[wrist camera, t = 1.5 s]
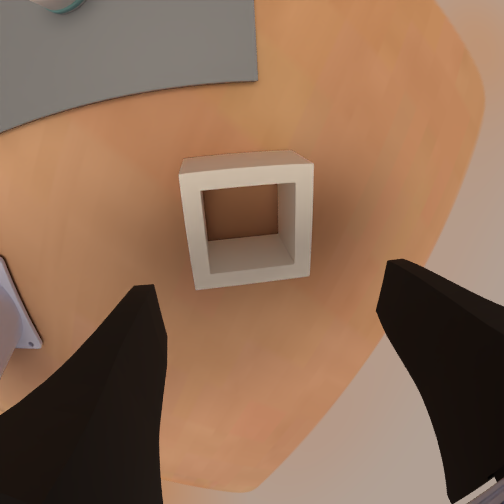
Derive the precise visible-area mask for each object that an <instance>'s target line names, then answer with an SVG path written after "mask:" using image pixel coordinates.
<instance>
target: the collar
mask: <svg viewBox="0 0 504 504" xmlns="http://www.w3.org/2000/svg"><path fill="white" fill-rule="evenodd" d="M313 179H314V163H312V162H311V161H309V160H307V159H306V158H304V157H302V156H301V155H299V154H298V153H296V152H294V151H293V150H277V151H259V152H245V153H232V154H221V155H211V156H201V157H192V158H184V159H183V162H182V165H181V168H180V171H179V182H180V190H181V198H182V206H183V213H184V220H185V227H186V234H187V241H188V247H189V254H190V260H191V266H192V272H193V278H194V284H195V289H196V290H202V289H211V288H220V287H228V286H237V285H245V284H253V283H261V282H269V281H277V280H284V279H292V278H299V277H307V276H310V261H311V241H312V217H313ZM267 184H277V190H278V234H270V235H260V236H251V237H242V238H233V239H223V240H214V241H208V236H207V227H206V219H205V210H204V201H203V190H213V189H222V188H233V187H243V186H255V185H267Z"/></svg>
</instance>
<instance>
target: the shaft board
mask: <svg viewBox="0 0 504 504" xmlns="http://www.w3.org/2000/svg"><path fill="white" fill-rule="evenodd" d="M255 81H258V71H257V51H256V32H255V14H254V0H0V133H3V132H5V131H8V130H10V129H13V128H15V127H18V126H21V125H24V124H26V123H29V122H32V121H35V120H38V119H41V118H44V117H47V116H50V115H53V114H57V113H60V112H63V111H67V110H70V109H74V108H78V107H81V106H85V105H89V104H93V103H97V102H101V101H106V100H110V99H115V98H120V97H125V96H130V95H135V94H140V93H146V92H152V91H159V90H165V89H172V88H180V87H188V86H198V85H208V84H220V83H236V82H255Z"/></svg>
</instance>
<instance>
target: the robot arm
mask: <svg viewBox="0 0 504 504" xmlns="http://www.w3.org/2000/svg"><path fill="white" fill-rule="evenodd" d="M376 312H377V314H378V317H379V319H380V322H381V324H382V326H383V329H384V331H385V333H386V335H387V337H388V338H389V340H390V342H391V344H392V345H393V347H394V349H395V350H396V352H397V354H398V355H399V357H400V359H401V360H402V362H403V364H404V365H405V367H406V368H407V370H408V372H409V374H410V376H411V377H412V379H413V381H414V382H415V384H416V386H417V388H418V390H419V392H420V394H421V396H422V399H423V401H424V404H425V406H426V408H427V411H428V414H429V416H430V419H431V422H432V425H433V428H434V431H435V434H436V437H437V441H438V445H439V449H440V453H441V457H442V461H443V466H444V472H445V479H446V487H447V495H448V498H449V500H450V502H451V504H454V503H455V502H457V501H459V500H460V499H462V498H464V497H465V496H467V495H468V494H470V493H471V492H473V491H475V490H476V489H478V488H479V487H480V486H482V485H483V484H485V483H486V482H488V481H489V480H491V479H492V478H493V477H495V479H496V481H497V483H496V484H494V485H493V486H492V487H490V488H489V489H487V490H486V491H485V492H483V493H482V494H480V495H479V496H477V497H476V498H474V499H473V500H472V501H470V502H468V503H467V504H504V306H501V305H499V304H496V303H494V302H492V301H489V300H487V299H485V298H483V297H481V296H479V295H477V294H475V293H473V292H471V291H469V290H467V289H465V288H463V287H461V286H459V285H457V284H455V283H453V282H451V281H449V280H447V279H445V278H443V277H441V276H440V275H438V274H436V273H434V272H432V271H430V270H428V269H426V268H424V267H422V266H419V265H417V264H415V263H413V262H410V261H408V260H405V259H396V260H388V261H387V265H386V270H385V274H384V279H383V283H382V288H381V292H380V296H379V300H378V304H377V308H376ZM42 345H43V343H42V340H41V339H40V337H39V335H38V333H37V331H36V329H35V327H34V326H33V324H32V322H31V320H30V318H29V316H28V314H27V312H26V310H25V308H24V306H23V303H22V301H21V299H20V297H19V295H18V293H17V290H16V288H15V286H14V284H13V281H12V279H11V276H10V274H9V272H8V269H7V267H6V264H5V261H4V260H3V258H2V257H0V379H1V376H2V374H3V372H4V370H5V368H6V366H7V363H8V361H9V359H10V357H11V355H12V353H13V351H14V349H15V348H32V349H39V348H41V347H42ZM166 369H167V333H166V330H165V326H164V322H163V319H162V315H161V311H160V307H159V303H158V299H157V295H156V291H155V287H154V284H151V285H138V286H134V287H133V288H132V289H131V290H130V291H129V292H128V293H127V294H126V295H125V297H124V298H123V299H122V300H121V301H120V303H119V304H118V305H117V306H116V307H115V308H114V310H113V311H112V312H111V313H110V314H109V315H108V317H107V318H106V319H105V320H104V321H103V323H102V324H101V325H100V326H99V327H98V328H97V330H96V331H95V332H94V333H93V334H92V335H91V336H90V337H89V338H88V339H87V340H86V341H85V342H84V344H83V345H82V346H81V347H80V348H79V349H78V350H77V351H76V352H75V353H74V354H73V355H72V356H71V357H70V358H69V359H68V360H67V361H66V362H65V363H64V364H63V365H62V366H61V367H60V368H59V369H58V370H57V371H56V372H55V373H54V374H53V375H51V376H50V377H49V378H48V379H47V380H46V381H45V382H44V383H42V384H41V385H40V386H39V387H37V388H36V389H35V390H33V391H32V392H31V393H30V394H28V395H27V396H26V397H25V398H24V399H22V400H21V401H20V402H18V403H17V404H16V405H14V406H13V407H11V408H10V409H9V410H7V411H6V412H4V413H3V414H1V415H0V504H163V499H162V489H161V476H160V457H159V431H160V420H161V411H162V402H163V394H164V385H165V377H166Z"/></svg>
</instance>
